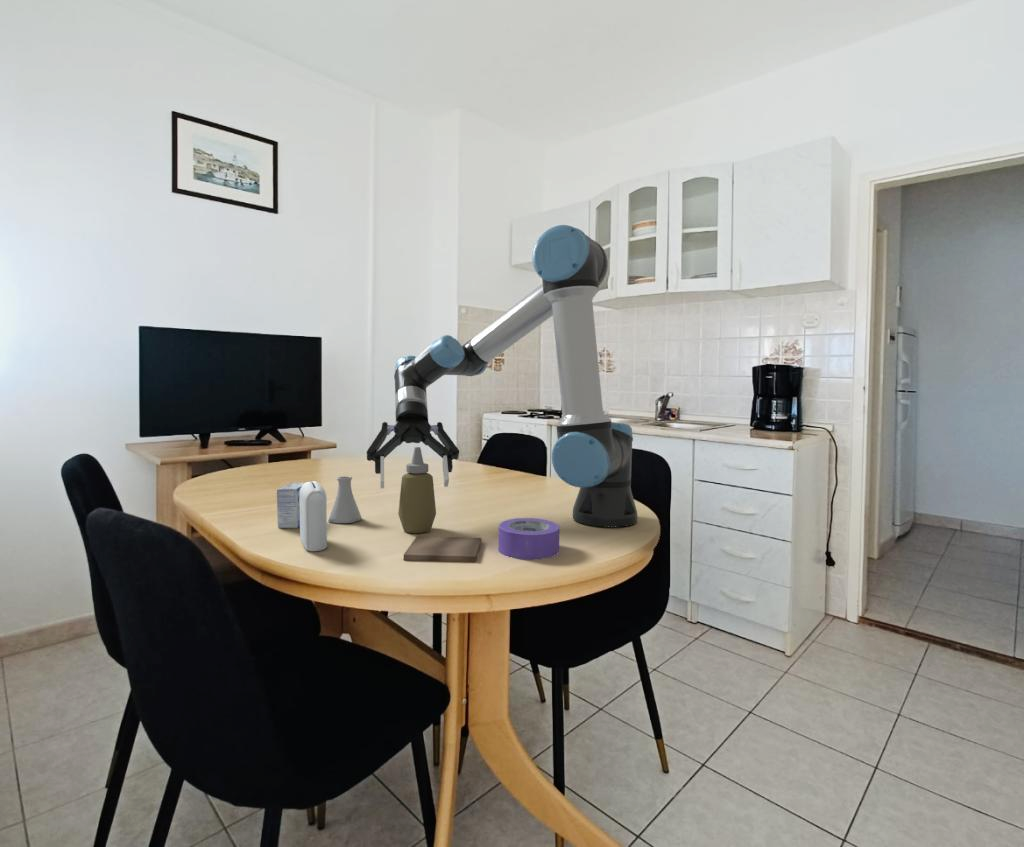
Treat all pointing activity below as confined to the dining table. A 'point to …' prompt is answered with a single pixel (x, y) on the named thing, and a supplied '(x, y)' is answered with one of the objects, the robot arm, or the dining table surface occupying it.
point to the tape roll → (528, 538)
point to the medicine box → (289, 506)
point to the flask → (344, 503)
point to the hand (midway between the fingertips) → (414, 484)
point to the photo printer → (313, 516)
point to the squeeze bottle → (417, 496)
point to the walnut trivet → (443, 549)
